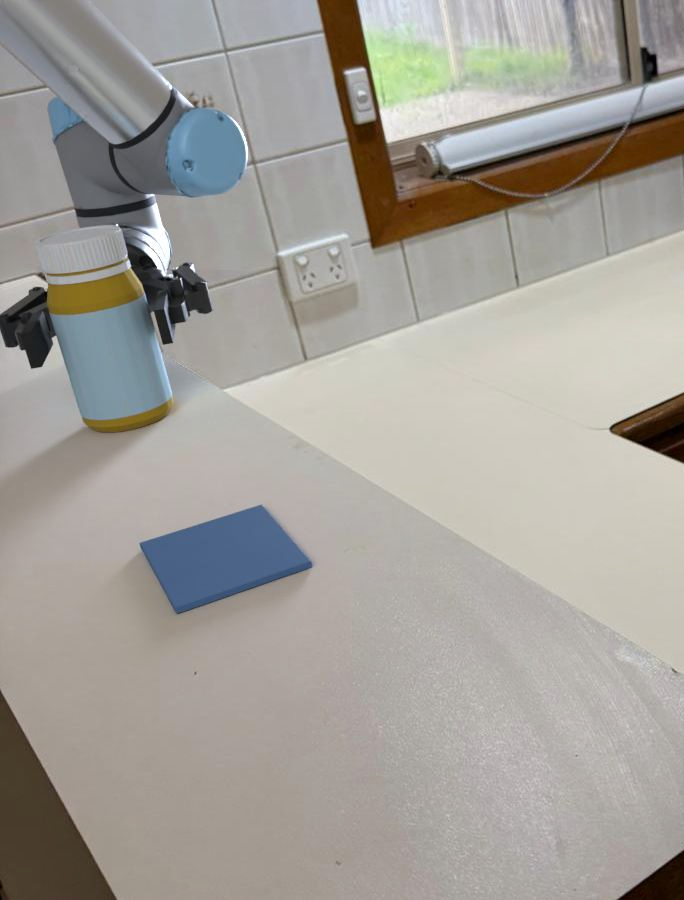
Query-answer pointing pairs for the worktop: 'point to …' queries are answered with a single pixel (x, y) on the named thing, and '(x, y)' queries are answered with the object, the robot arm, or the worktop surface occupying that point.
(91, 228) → the bottle
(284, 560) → the blue mat
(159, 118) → the robot arm
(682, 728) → the worktop surface
